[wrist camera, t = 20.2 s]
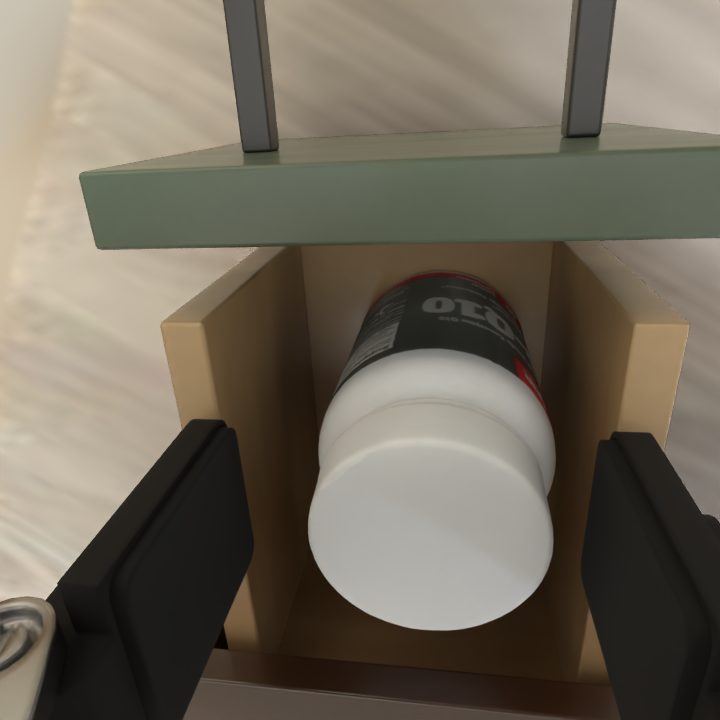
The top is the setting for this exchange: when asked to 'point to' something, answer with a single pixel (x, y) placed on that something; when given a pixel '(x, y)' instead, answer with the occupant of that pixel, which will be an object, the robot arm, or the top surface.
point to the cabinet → (380, 692)
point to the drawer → (382, 271)
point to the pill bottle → (435, 460)
